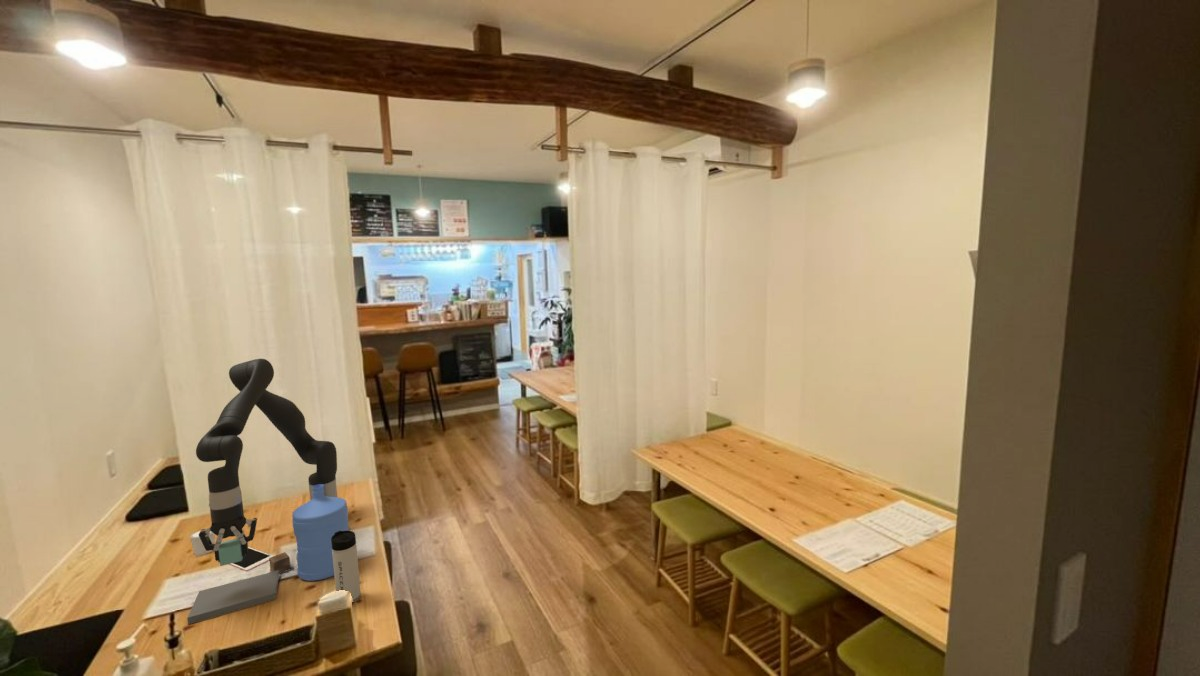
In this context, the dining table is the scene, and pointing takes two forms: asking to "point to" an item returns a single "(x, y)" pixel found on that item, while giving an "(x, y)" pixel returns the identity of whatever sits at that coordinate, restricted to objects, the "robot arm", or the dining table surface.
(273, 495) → the dining table surface
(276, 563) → the walnut block
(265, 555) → the cell phone
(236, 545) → the teal cube
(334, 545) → the travel mug
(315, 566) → the water jug
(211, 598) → the slate board
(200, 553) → the white cylinder
